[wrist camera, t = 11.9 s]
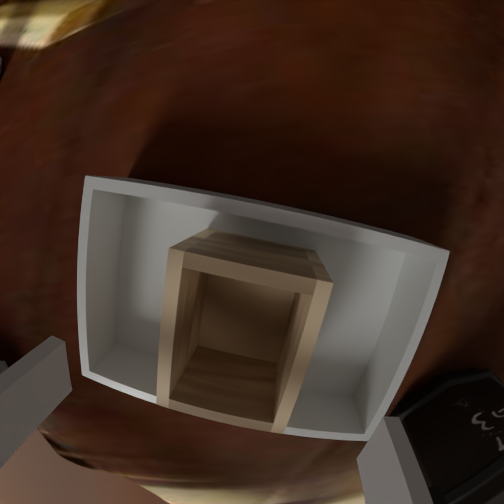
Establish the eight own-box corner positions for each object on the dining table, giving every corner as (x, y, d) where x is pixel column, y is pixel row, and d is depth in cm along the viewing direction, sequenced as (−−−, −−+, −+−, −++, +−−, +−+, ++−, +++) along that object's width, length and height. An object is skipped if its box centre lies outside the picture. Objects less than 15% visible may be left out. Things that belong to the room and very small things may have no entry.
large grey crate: (127, 177, 23) (85, 175, 17) (413, 237, 22) (449, 251, 16) (114, 343, 26) (82, 375, 20) (356, 398, 25) (369, 441, 19)
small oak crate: (207, 228, 22) (168, 247, 14) (315, 250, 22) (333, 283, 14) (189, 346, 24) (156, 404, 16) (284, 367, 24) (283, 433, 16)
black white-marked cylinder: (394, 488, 28) (416, 575, 12) (338, 428, 26) (358, 560, 11) (504, 415, 24) (556, 486, 9) (484, 328, 23) (580, 413, 7)
